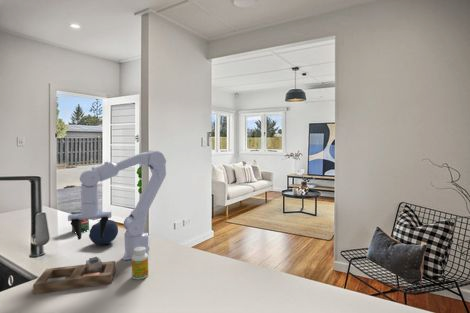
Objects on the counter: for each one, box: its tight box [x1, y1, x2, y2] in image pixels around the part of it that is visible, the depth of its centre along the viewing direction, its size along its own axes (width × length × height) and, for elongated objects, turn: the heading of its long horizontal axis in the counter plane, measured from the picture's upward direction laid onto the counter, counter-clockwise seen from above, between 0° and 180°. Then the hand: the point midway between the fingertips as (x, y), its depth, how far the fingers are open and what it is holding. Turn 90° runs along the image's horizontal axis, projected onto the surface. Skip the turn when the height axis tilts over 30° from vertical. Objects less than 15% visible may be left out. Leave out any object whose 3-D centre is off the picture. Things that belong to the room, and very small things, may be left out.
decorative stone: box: [88, 219, 119, 246], centre depth 127 cm, size 12×12×10 cm
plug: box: [85, 256, 102, 274], centre depth 95 cm, size 4×4×7 cm
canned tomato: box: [70, 208, 90, 233], centre depth 145 cm, size 8×8×11 cm
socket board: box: [32, 260, 116, 295], centre depth 94 cm, size 22×11×3 cm, turn 107°
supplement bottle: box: [131, 247, 149, 280], centre depth 96 cm, size 5×5×10 cm
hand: (91, 237), depth 105 cm, fingers open, 7 cm apart
